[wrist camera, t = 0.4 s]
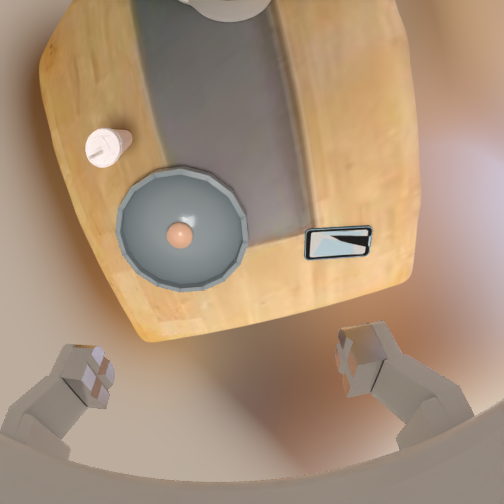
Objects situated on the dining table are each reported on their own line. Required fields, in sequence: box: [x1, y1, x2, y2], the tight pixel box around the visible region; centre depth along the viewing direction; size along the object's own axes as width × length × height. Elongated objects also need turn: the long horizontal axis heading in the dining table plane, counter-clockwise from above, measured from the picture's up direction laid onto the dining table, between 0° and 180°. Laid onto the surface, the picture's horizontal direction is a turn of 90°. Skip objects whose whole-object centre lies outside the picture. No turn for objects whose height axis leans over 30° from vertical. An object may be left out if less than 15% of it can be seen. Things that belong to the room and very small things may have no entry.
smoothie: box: [86, 128, 133, 167], centre depth 40 cm, size 6×6×14 cm
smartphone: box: [304, 225, 373, 260], centre depth 59 cm, size 7×1×15 cm
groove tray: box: [116, 166, 248, 292], centre depth 55 cm, size 26×26×2 cm
